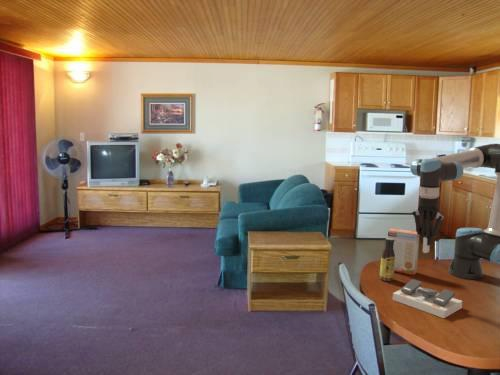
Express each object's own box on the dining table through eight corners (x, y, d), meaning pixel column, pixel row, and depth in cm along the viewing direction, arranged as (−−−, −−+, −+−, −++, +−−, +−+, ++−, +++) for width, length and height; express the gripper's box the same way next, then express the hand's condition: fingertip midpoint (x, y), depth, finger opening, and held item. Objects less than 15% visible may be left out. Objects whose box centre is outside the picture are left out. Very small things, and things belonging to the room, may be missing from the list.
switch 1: (412, 281, 188) (412, 278, 188) (421, 284, 185) (421, 281, 185) (401, 291, 183) (400, 288, 183) (410, 294, 180) (410, 291, 179)
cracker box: (416, 272, 217) (420, 231, 214) (414, 275, 212) (417, 234, 209) (388, 266, 224) (391, 227, 221) (385, 270, 219) (387, 229, 216)
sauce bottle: (386, 282, 202) (388, 241, 199) (376, 278, 208) (379, 237, 205) (396, 280, 205) (399, 239, 202) (386, 276, 211) (389, 236, 208)
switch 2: (444, 291, 178) (443, 288, 177) (454, 295, 174) (454, 292, 174) (433, 302, 173) (432, 299, 172) (444, 306, 169) (443, 303, 169)
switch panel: (411, 291, 193) (412, 282, 192) (461, 308, 176) (462, 298, 175) (392, 299, 183) (393, 290, 182) (443, 318, 166) (444, 308, 166)
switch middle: (427, 291, 183) (428, 288, 183) (437, 294, 180) (438, 291, 180) (416, 292, 177) (417, 288, 177) (427, 295, 174) (427, 291, 174)
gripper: (409, 195, 182) (406, 250, 186) (440, 200, 172) (436, 257, 176) (418, 193, 186) (416, 246, 190) (449, 197, 177) (445, 253, 181)
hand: (425, 251), depth 183 cm, fingers closed
